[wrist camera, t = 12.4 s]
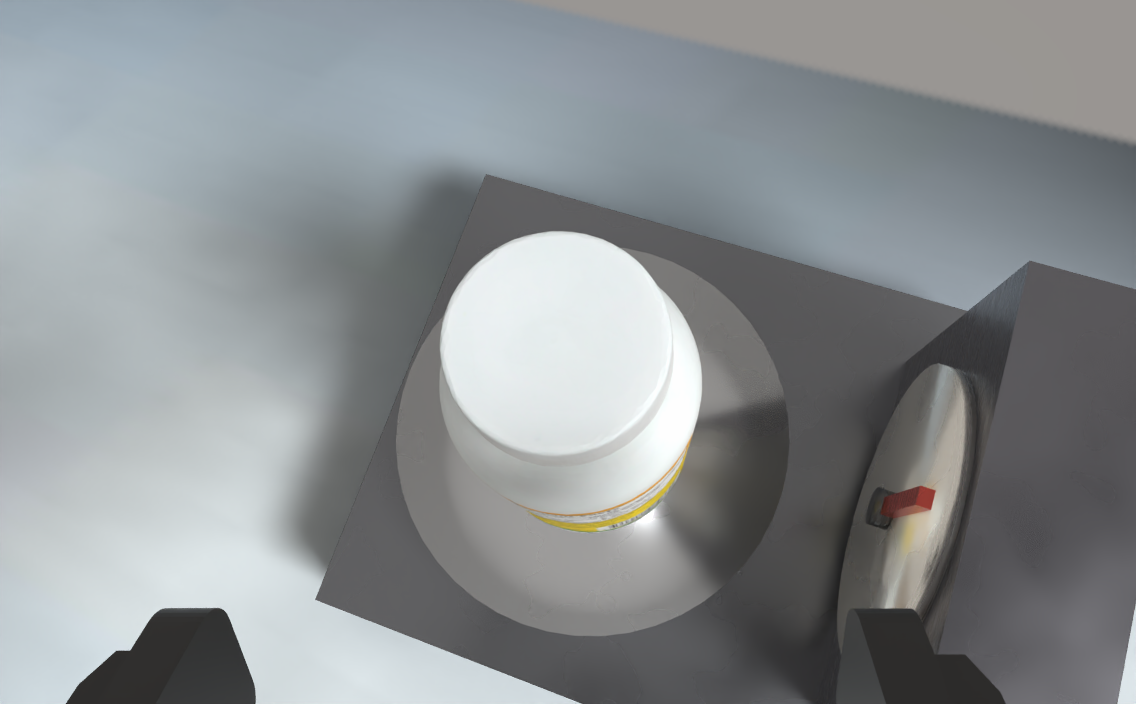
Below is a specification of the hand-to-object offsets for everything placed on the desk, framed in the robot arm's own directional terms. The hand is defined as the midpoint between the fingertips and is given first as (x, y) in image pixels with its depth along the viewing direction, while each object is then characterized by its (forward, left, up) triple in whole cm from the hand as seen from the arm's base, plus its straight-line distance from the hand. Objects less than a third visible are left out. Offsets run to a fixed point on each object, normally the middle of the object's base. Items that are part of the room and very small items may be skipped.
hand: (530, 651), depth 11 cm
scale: (-2, -4, -16) cm, 17 cm away
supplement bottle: (0, -5, -12) cm, 13 cm away
